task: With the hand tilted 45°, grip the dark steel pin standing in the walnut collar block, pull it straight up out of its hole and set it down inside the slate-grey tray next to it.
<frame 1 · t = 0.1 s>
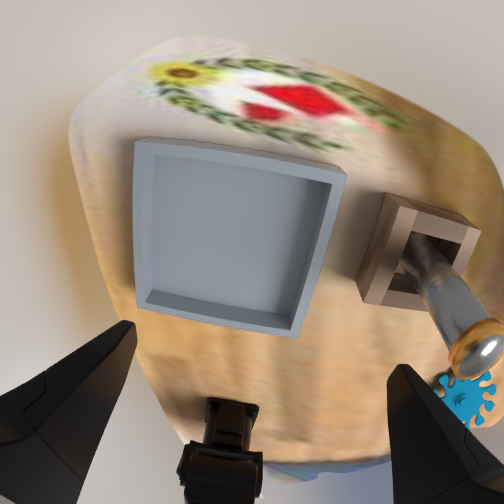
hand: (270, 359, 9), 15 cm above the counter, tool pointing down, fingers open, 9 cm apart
collar block: (412, 248, 23), on the counter
gear: (449, 380, 31), on the counter
steel pin: (443, 291, 17), in the collar block
tray: (229, 236, 24), on the counter
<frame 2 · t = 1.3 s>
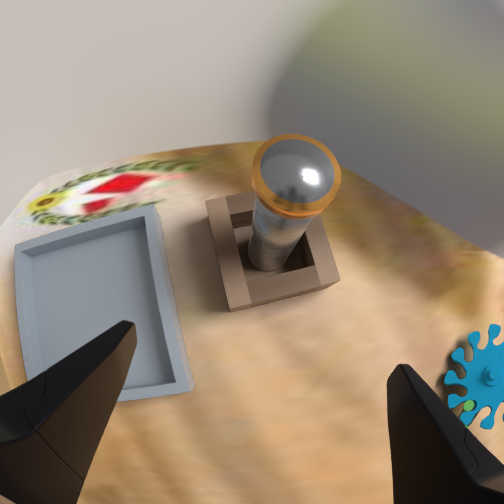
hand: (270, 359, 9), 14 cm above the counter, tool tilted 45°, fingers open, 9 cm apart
collar block: (267, 251, 24), on the counter
gear: (464, 379, 22), on the counter
steel pin: (278, 222, 18), in the collar block
tray: (95, 314, 22), on the counter
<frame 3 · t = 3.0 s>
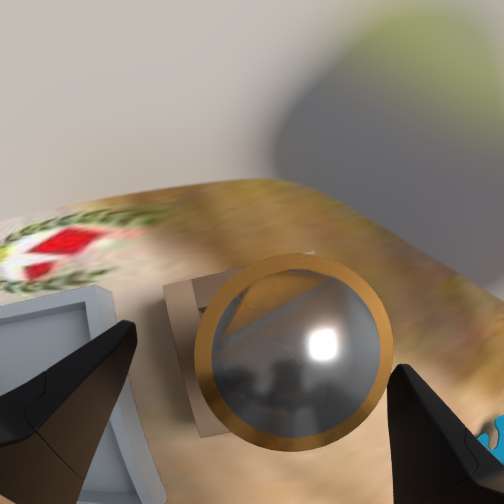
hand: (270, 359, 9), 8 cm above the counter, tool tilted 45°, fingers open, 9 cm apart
collar block: (255, 345, 17), on the counter
gear: (483, 460, 15), on the counter
steel pin: (266, 347, 11), in the collar block
tray: (47, 407, 15), on the counter
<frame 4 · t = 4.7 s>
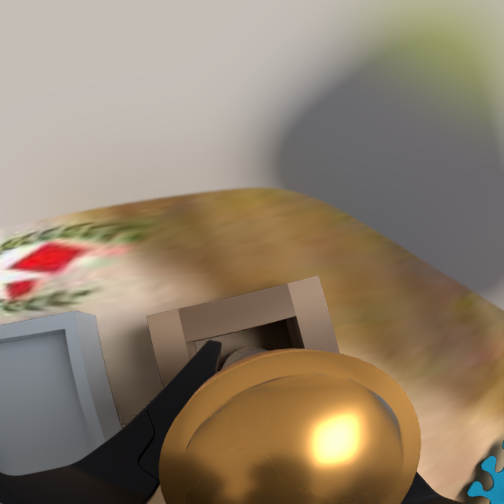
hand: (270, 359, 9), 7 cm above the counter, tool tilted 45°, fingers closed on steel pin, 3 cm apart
collar block: (251, 375, 15), on the counter
gear: (488, 481, 13), on the counter
steel pin: (261, 398, 9), in the collar block, touching gripper
tray: (35, 432, 13), on the counter
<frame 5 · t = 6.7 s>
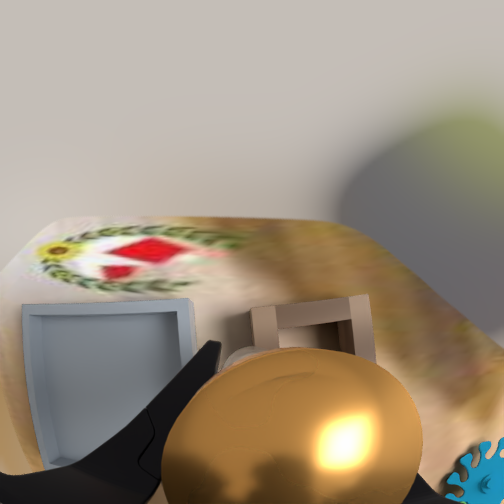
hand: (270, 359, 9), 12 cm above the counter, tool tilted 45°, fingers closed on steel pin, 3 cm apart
collar block: (308, 358, 21), on the counter
gear: (463, 477, 18), on the counter
steel pin: (262, 397, 9), point 12 cm above the counter, touching gripper
tray: (113, 395, 19), on the counter
when the fingers open (9 cm above the counter, at t = 8.9 s): steel pin drops 2 cm, resting on tray.
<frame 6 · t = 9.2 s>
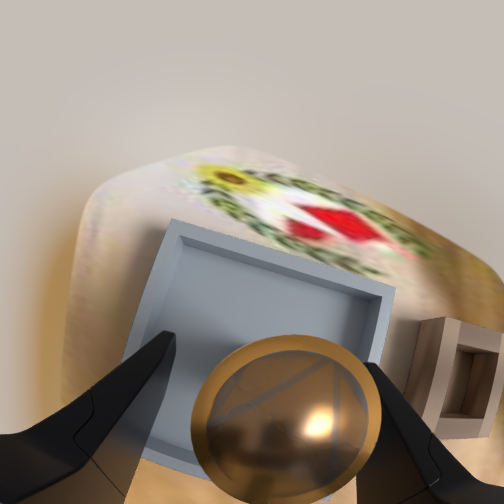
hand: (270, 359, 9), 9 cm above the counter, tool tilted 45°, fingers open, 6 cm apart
collar block: (447, 381, 18), on the counter
steel pin: (260, 387, 11), in the tray, point 7 cm above the counter
tray: (249, 370, 17), on the counter
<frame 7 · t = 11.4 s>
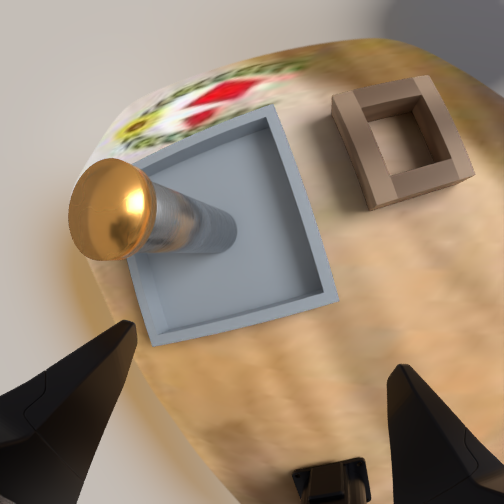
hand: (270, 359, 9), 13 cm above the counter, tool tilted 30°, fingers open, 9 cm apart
collar block: (398, 146, 20), on the counter
steel pin: (176, 223, 16), in the tray, point 7 cm above the counter
tray: (218, 231, 23), on the counter
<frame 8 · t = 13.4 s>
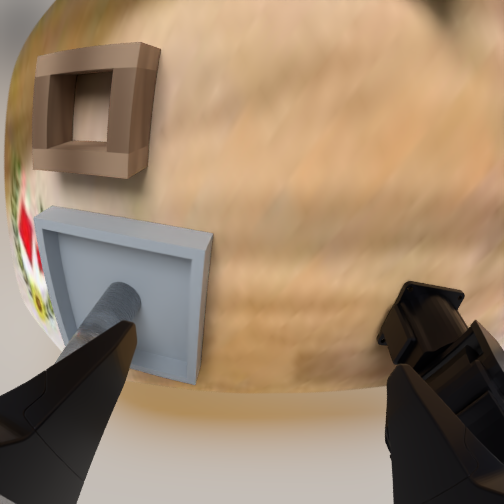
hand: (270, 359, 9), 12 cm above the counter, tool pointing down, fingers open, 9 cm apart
collar block: (100, 106, 17), on the counter
steel pin: (90, 350, 18), in the tray, point 7 cm above the counter
tray: (126, 293, 24), on the counter
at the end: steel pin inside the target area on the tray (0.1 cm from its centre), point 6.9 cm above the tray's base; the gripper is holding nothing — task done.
